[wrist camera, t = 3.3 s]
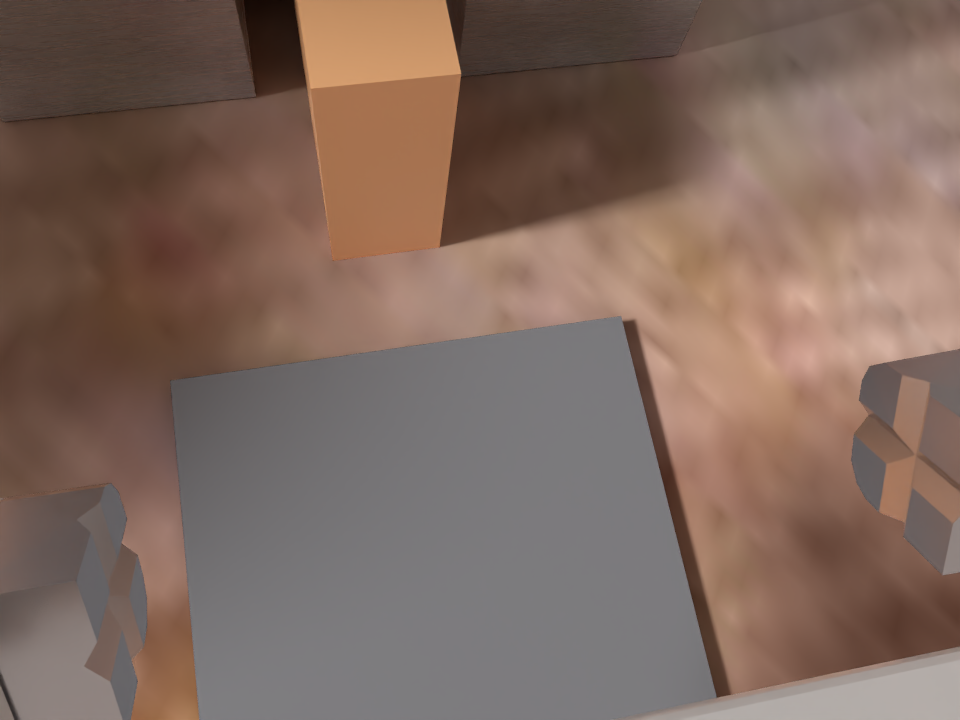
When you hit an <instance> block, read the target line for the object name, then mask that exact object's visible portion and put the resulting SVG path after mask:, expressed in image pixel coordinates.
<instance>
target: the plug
mask: <svg viewBox="0 0 960 720" xmlns="http://www.w3.org/2000/svg"><path fill="white" fill-rule="evenodd" d="M294 5H295V12H296V19H297V25H298V32H299V38H300V45H301V52H302V58H303V65H304V72H305V78H306V85H307V92H308V98H309V105H310V112H311V118H312V125H313V132H314V138H315V145H316V152H317V158H318V165H319V172H320V178H321V185H322V192H323V198H324V205H325V212H326V218H327V225H328V232H329V238H330V245H331V252H332V258H333V261H335V260H343V259H351V258H359V257H367V256H375V255H382V254H390V253H398V252H406V251H414V250H422V249H430V248H437V247H440V239H441V231H442V223H443V215H444V207H445V199H446V191H447V183H448V176H449V168H450V160H451V152H452V144H453V136H454V128H455V120H456V112H457V104H458V96H459V88H460V80H461V70H460V65H459V61H458V56H457V51H456V46H455V42H454V37H453V32H452V28H451V23H450V18H449V13H448V9H447V4H446V0H294Z"/></svg>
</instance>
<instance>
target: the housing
mask: <svg viewBox="0 0 960 720" xmlns="http://www.w3.org/2000/svg"><path fill="white" fill-rule="evenodd" d="M701 2H702V0H446V4H447V9H448V13H449V18H450V23H451V28H452V32H453V37H454V42H455V46H456V51H457V56H458V61H459V65H460V70H461V77H462V76H472V75H482V74H492V73H502V72H512V71H522V70H533V69H543V68H553V67H563V66H573V65H583V64H593V63H603V62H613V61H624V60H634V59H644V58H654V57H664V56H674V55H677V53H678V51H679V49H680V47H681V44H682V42H683V40H684V38H685V36H686V34H687V32H688V30H689V27H690V25H691V23H692V21H693V19H694V17H695V15H696V13H697V10H698V8H699V6H700V4H701ZM249 97H256V93H255V85H254V77H253V70H252V62H251V54H250V47H249V39H248V31H247V23H246V16H245V8H244V0H0V118H1V120H2V121H3V122H7V121H17V120H27V119H37V118H47V117H57V116H67V115H77V114H87V113H98V112H108V111H118V110H128V109H138V108H148V107H158V106H168V105H178V104H189V103H199V102H209V101H219V100H229V99H239V98H249Z"/></svg>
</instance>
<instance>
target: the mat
mask: <svg viewBox="0 0 960 720" xmlns="http://www.w3.org/2000/svg"><path fill="white" fill-rule="evenodd" d="M170 384H171V396H172V408H173V419H174V431H175V442H176V454H177V465H178V477H179V489H180V500H181V512H182V523H183V535H184V546H185V558H186V570H187V581H188V593H189V604H190V616H191V627H192V639H193V650H194V662H195V674H196V685H197V697H198V708H199V720H613V719H618V718H623V717H628V716H632V715H637V714H642V713H647V712H651V711H656V710H661V709H666V708H670V707H675V706H680V705H685V704H689V703H694V702H699V701H704V700H708V699H713V698H717V697H716V693H715V689H714V685H713V681H712V677H711V673H710V669H709V665H708V661H707V657H706V653H705V649H704V645H703V641H702V637H701V633H700V629H699V625H698V621H697V617H696V613H695V609H694V605H693V601H692V597H691V593H690V589H689V585H688V581H687V577H686V573H685V569H684V565H683V561H682V557H681V553H680V549H679V545H678V541H677V537H676V533H675V529H674V525H673V521H672V517H671V513H670V509H669V505H668V501H667V497H666V493H665V489H664V485H663V481H662V477H661V473H660V469H659V465H658V461H657V457H656V453H655V449H654V445H653V441H652V437H651V433H650V429H649V425H648V422H647V418H646V414H645V410H644V406H643V402H642V398H641V394H640V390H639V386H638V382H637V378H636V374H635V370H634V366H633V362H632V358H631V354H630V350H629V346H628V342H627V338H626V334H625V330H624V326H623V322H622V318H621V316H618V317H611V318H604V319H597V320H590V321H583V322H576V323H570V324H563V325H556V326H549V327H542V328H535V329H528V330H521V331H514V332H507V333H500V334H493V335H486V336H479V337H472V338H465V339H458V340H451V341H444V342H437V343H430V344H423V345H416V346H409V347H402V348H395V349H388V350H381V351H374V352H367V353H360V354H353V355H346V356H339V357H332V358H325V359H318V360H311V361H304V362H297V363H290V364H283V365H276V366H269V367H262V368H255V369H248V370H241V371H234V372H227V373H220V374H213V375H206V376H199V377H192V378H185V379H178V380H171V381H170Z"/></svg>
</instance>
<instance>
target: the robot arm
mask: <svg viewBox="0 0 960 720" xmlns="http://www.w3.org/2000/svg"><path fill="white" fill-rule="evenodd" d="M859 401H860V402H861V404H862V405H863V407H864V408H865V410H866V411H867V413H868V414H869V415H868V417H867V418H866V419H865V421H864V422H863V423H862V424H861V426H860V427H859V428H858V430H857V431H856V432H855V434H854V438H853V448H852V458H851V461H852V465H853V469H854V473H855V478H856V482H857V484H858V486H859V488H860V490H861V491H862V493H863V495H864V497H865V499H866V500H867V501H868V502H869V503H870V504H871V505H872V506H873V507H874V508H875V509H876V510H877V511H878V512H879V513H881V514H884V515H886V516H889V517H891V518H894V519H897V520H899V521H902V522H904V535H903V537H904V538H905V539H906V540H907V541H908V542H909V543H910V544H911V545H912V546H913V547H914V548H915V549H916V550H917V551H918V552H919V553H920V554H921V555H922V556H923V557H924V558H925V559H926V560H927V561H928V562H929V563H930V564H931V565H932V566H934V567H935V568H936V569H937V570H938V571H939V572H940V573H941V574H942V575H947V574H953V573H959V572H960V349H957V350H952V351H947V352H941V353H936V354H930V355H925V356H920V357H914V358H909V359H903V360H898V361H892V362H887V363H882V364H877V365H873V366H869V368H868V370H867V372H866V374H865V376H864V378H863V379H862V384H861V390H860V397H859ZM126 521H127V517H126V514H125V511H124V508H123V505H122V502H121V499H120V496H119V492H118V491H117V490H116V488H115V487H114V486H113V485H112V484H111V483H106V484H99V485H91V486H84V487H77V488H70V489H62V490H55V491H48V492H41V493H33V494H26V495H19V496H12V497H7V498H5V499H4V498H0V720H131V715H132V709H133V704H134V698H135V693H136V688H137V682H138V681H137V677H136V674H135V671H134V667H133V664H132V661H131V660H132V659H133V658H134V657H135V656H136V655H137V654H138V653H139V652H140V651H141V650H142V649H143V647H144V642H145V636H146V629H147V597H146V591H145V584H144V578H143V573H142V570H141V566H140V562H139V559H138V555H137V554H136V553H134V552H133V551H131V550H130V549H129V548H127V547H126V546H124V545H123V544H122V539H123V534H124V530H125V526H126ZM613 720H960V647H955V648H950V649H945V650H941V651H936V652H931V653H926V654H922V655H917V656H912V657H907V658H903V659H898V660H893V661H888V662H884V663H879V664H874V665H869V666H865V667H860V668H855V669H850V670H846V671H841V672H836V673H831V674H827V675H822V676H817V677H813V678H808V679H803V680H799V681H794V682H789V683H784V684H780V685H775V686H770V687H766V688H761V689H756V690H751V691H747V692H742V693H737V694H732V695H727V696H723V697H718V698H713V699H708V700H704V701H699V702H694V703H689V704H685V705H680V706H675V707H670V708H666V709H661V710H656V711H651V712H647V713H642V714H637V715H632V716H628V717H623V718H618V719H613Z"/></svg>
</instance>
